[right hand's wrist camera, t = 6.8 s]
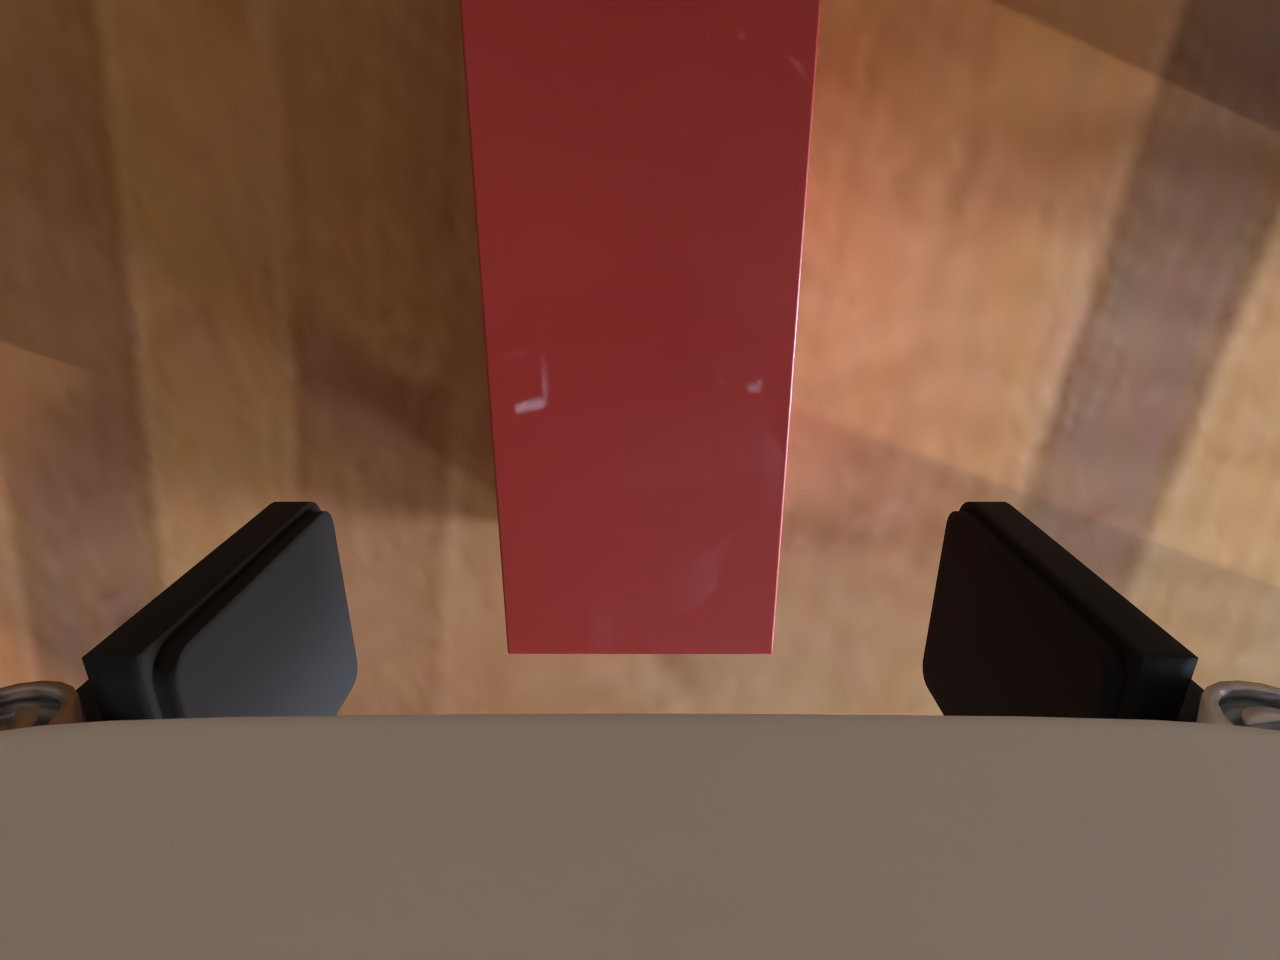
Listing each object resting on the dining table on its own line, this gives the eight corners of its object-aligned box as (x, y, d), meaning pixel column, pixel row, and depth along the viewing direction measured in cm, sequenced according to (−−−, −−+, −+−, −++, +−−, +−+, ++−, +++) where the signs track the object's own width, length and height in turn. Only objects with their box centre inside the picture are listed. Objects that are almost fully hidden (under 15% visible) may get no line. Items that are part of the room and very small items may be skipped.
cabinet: (511, -197, 18) (423, -479, 11) (770, -197, 18) (858, -481, 11) (546, 527, 25) (507, 654, 18) (734, 527, 25) (773, 654, 18)
